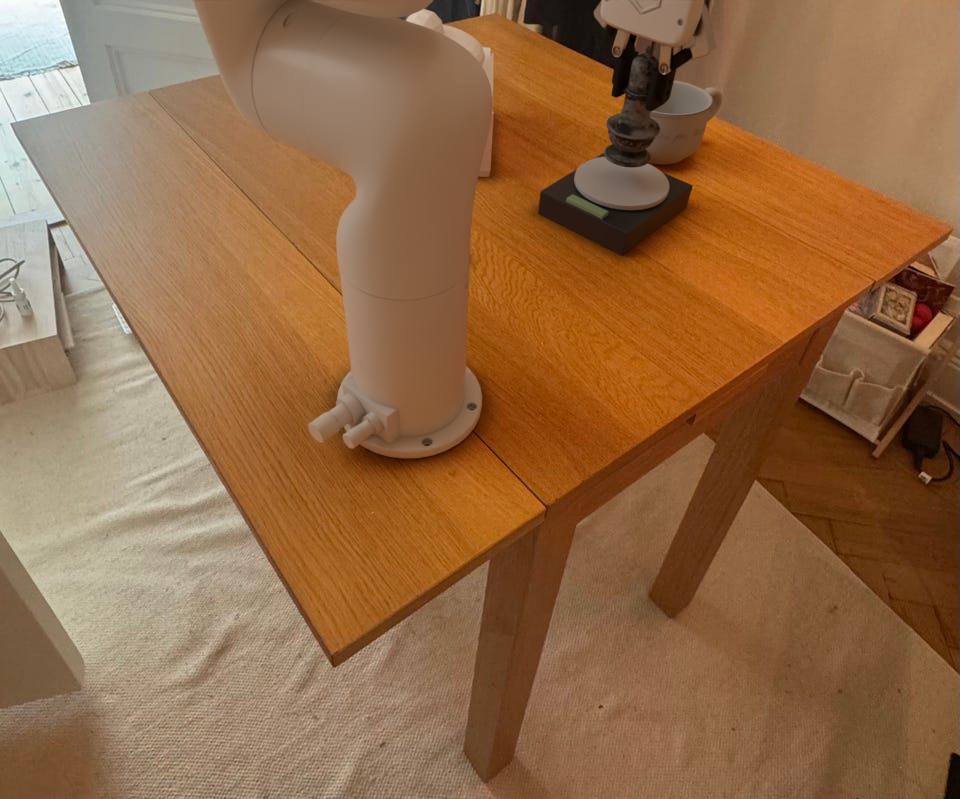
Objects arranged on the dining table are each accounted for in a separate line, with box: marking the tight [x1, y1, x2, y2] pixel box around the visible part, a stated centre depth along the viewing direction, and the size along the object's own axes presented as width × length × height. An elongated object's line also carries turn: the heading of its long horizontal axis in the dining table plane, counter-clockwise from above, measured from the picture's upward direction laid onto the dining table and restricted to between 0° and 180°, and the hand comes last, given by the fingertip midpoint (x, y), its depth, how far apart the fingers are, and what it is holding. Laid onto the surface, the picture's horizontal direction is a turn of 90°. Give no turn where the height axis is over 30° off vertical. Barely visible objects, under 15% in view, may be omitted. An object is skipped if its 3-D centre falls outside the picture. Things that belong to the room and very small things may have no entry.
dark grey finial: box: [603, 45, 660, 167], centre depth 78 cm, size 6×6×12 cm
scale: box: [537, 152, 694, 257], centre depth 86 cm, size 14×12×4 cm
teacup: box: [646, 80, 723, 165], centre depth 95 cm, size 14×11×8 cm
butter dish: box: [405, 8, 495, 178], centre depth 92 cm, size 18×18×16 cm
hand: (638, 98), depth 78 cm, fingers closed on dark grey finial, 3 cm apart
